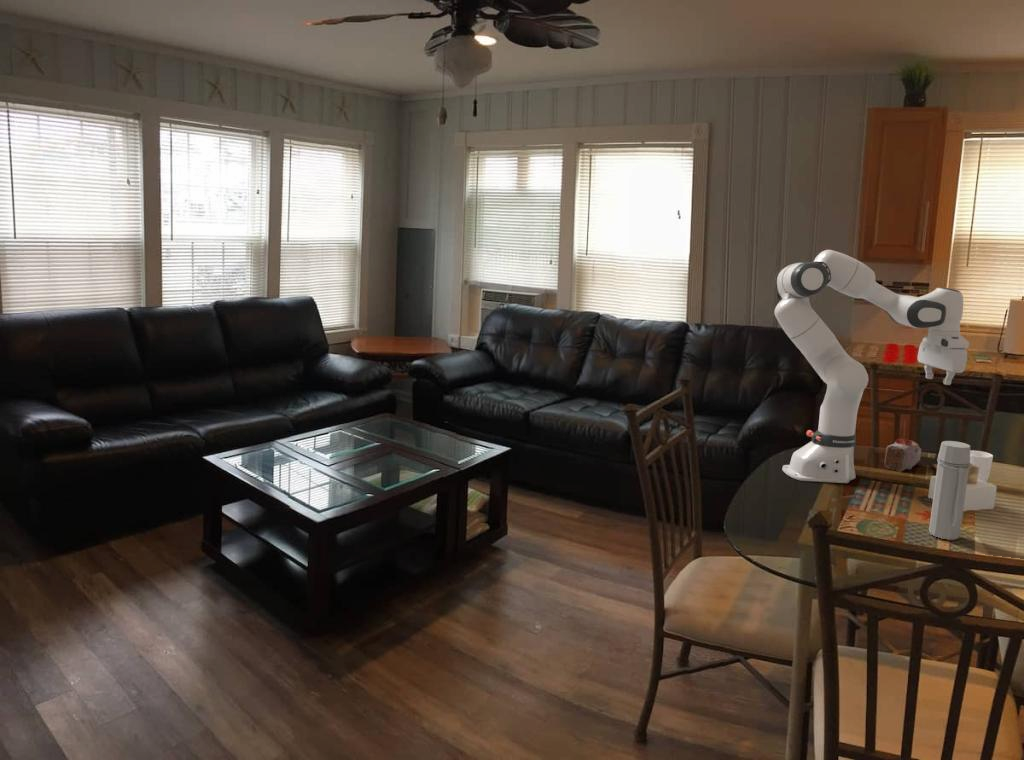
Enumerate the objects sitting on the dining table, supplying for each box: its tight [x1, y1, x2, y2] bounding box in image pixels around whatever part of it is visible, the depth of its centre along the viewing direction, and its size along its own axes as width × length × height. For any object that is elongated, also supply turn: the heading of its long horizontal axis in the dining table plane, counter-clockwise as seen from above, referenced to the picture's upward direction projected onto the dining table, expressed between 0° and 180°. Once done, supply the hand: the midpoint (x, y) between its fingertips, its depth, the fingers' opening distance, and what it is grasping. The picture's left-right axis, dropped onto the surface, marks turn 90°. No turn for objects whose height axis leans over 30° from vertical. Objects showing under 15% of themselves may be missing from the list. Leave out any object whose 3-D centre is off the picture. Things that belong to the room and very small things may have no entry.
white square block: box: [927, 475, 998, 512], centre depth 233 cm, size 12×12×7 cm
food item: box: [883, 438, 922, 473], centre depth 267 cm, size 14×8×10 cm, turn 134°
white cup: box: [970, 449, 994, 483], centre depth 250 cm, size 8×8×10 cm
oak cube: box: [967, 464, 979, 484], centre depth 232 cm, size 5×5×5 cm
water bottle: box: [928, 440, 972, 541], centre depth 204 cm, size 9×8×25 cm
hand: (937, 381), depth 254 cm, fingers open, 8 cm apart
